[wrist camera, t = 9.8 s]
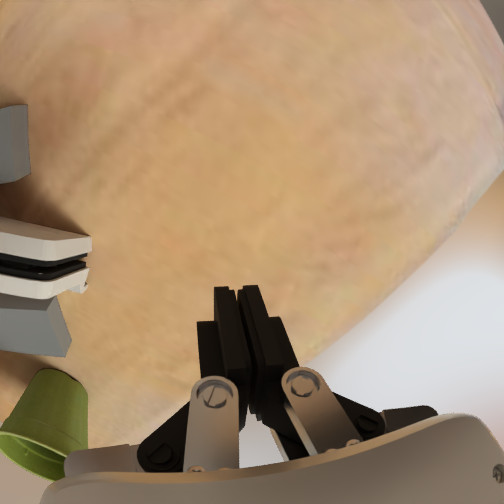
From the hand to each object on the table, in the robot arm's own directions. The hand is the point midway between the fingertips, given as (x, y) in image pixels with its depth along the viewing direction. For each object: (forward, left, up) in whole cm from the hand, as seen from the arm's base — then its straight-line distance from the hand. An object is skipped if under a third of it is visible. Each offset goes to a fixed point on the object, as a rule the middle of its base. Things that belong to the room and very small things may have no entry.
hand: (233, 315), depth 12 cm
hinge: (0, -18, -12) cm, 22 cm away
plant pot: (+20, -19, -12) cm, 31 cm away
